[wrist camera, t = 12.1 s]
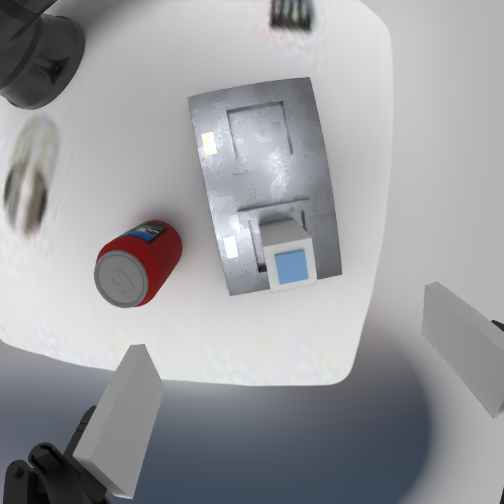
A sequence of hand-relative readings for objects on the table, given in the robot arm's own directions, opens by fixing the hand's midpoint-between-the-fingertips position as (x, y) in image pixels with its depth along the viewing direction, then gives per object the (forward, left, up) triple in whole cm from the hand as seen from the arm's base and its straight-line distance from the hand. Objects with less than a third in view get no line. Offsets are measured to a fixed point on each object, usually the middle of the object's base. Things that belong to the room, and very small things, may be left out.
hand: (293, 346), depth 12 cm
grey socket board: (-5, +2, -24) cm, 24 cm away
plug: (+1, +2, -22) cm, 22 cm away
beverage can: (-1, -13, -24) cm, 27 cm away
